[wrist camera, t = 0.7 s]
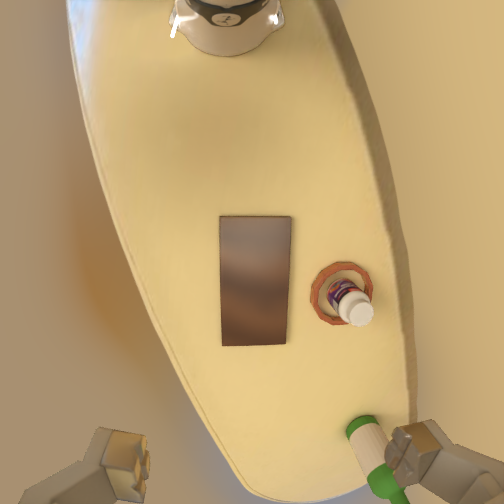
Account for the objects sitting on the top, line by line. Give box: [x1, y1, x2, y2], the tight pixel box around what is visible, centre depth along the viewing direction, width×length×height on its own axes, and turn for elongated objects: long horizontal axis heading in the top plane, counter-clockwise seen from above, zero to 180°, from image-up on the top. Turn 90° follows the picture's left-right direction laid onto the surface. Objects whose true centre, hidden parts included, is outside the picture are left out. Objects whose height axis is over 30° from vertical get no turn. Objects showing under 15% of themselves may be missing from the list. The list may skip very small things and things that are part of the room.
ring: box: [310, 262, 373, 325], centre depth 53 cm, size 11×11×2 cm
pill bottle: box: [327, 278, 374, 327], centre depth 49 cm, size 5×5×10 cm
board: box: [220, 216, 291, 346], centre depth 52 cm, size 22×11×1 cm, turn 179°
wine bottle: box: [346, 416, 410, 504], centre depth 48 cm, size 8×8×30 cm
